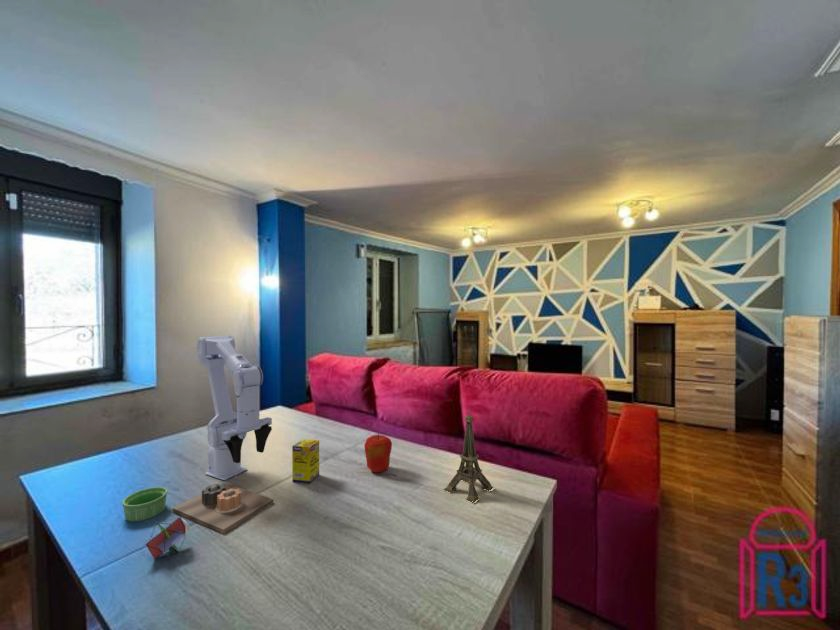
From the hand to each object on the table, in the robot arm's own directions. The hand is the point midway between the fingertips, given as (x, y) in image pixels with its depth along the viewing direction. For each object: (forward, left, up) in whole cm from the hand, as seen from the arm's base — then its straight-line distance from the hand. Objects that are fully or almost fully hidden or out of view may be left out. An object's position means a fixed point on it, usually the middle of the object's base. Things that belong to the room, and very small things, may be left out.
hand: (248, 456), depth 98 cm
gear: (+4, -9, -8) cm, 13 cm away
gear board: (+2, -9, -9) cm, 13 cm away
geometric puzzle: (+7, -25, -10) cm, 28 cm away
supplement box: (+10, +12, -10) cm, 18 cm away
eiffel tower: (+57, +27, -10) cm, 64 cm away
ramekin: (-14, -19, -10) cm, 26 cm away
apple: (+27, +26, -10) cm, 39 cm away
